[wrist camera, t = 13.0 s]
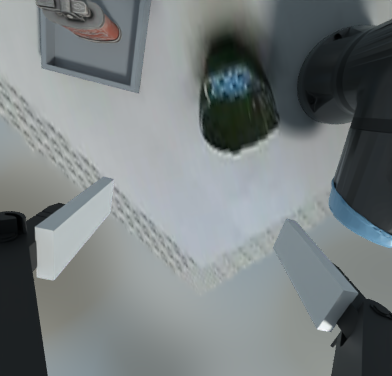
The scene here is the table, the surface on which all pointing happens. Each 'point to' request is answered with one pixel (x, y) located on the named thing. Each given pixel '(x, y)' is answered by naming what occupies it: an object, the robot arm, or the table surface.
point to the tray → (100, 47)
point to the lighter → (82, 19)
